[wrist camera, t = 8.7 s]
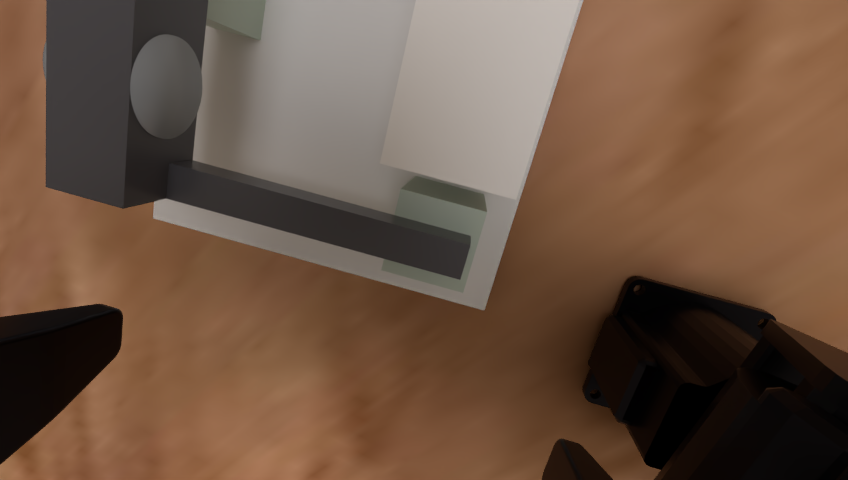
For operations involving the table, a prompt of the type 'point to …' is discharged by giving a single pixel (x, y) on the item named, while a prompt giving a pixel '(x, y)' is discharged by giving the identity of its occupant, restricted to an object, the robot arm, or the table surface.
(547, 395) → the table surface
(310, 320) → the table surface
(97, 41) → the glasses
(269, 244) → the display stand
